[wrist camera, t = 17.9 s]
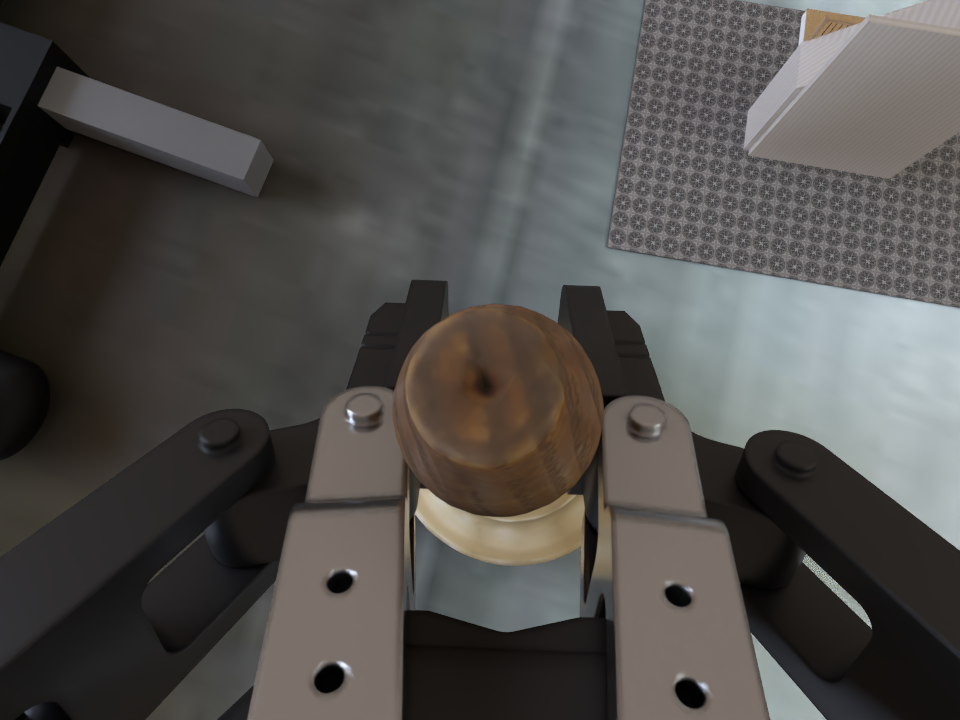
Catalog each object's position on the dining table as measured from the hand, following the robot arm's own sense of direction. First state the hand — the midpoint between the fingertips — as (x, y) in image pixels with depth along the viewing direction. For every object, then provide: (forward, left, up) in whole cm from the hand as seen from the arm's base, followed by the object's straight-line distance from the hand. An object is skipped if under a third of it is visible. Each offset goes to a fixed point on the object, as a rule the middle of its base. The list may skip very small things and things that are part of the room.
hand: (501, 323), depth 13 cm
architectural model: (+16, 0, -10) cm, 19 cm away
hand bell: (-1, -2, -9) cm, 9 cm away
